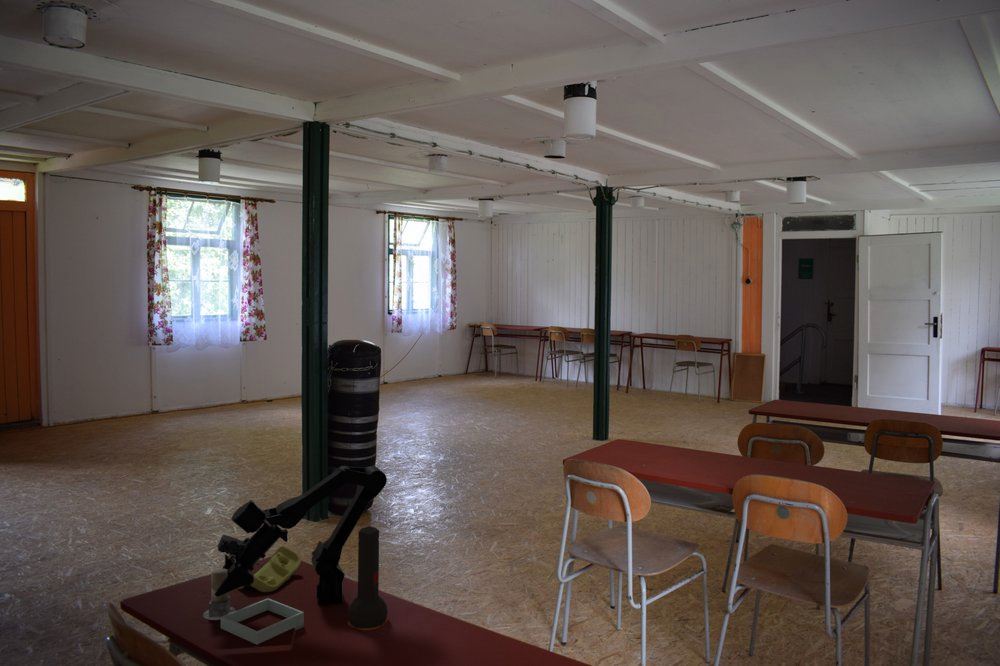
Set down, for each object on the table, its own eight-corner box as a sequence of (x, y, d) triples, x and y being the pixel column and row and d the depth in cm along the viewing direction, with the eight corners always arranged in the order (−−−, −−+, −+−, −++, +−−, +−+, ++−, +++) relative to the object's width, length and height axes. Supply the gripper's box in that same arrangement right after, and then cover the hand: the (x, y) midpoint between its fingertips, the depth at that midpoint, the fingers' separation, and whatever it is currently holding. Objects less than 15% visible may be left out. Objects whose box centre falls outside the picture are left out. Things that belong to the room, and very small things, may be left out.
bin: (267, 612, 192) (268, 598, 191) (303, 626, 184) (303, 612, 183) (220, 631, 180) (220, 617, 180) (256, 648, 172) (256, 632, 172)
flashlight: (340, 622, 186) (368, 633, 181) (341, 527, 185) (369, 535, 180) (367, 609, 195) (394, 618, 189) (368, 518, 193) (396, 524, 188)
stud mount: (238, 609, 193) (238, 594, 193) (232, 622, 185) (232, 607, 185) (206, 610, 192) (206, 596, 191) (199, 624, 184) (199, 609, 183)
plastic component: (273, 589, 201) (243, 571, 202) (264, 610, 203) (234, 592, 204) (306, 558, 221) (278, 542, 222) (297, 578, 222) (269, 562, 223)
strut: (230, 608, 191) (230, 567, 190) (226, 616, 187) (226, 574, 186) (212, 609, 190) (212, 568, 190) (208, 617, 186) (208, 575, 185)
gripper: (234, 514, 197) (190, 559, 193) (240, 535, 180) (192, 585, 176) (264, 539, 201) (221, 584, 197) (272, 562, 184) (226, 611, 180)
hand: (215, 590), depth 188 cm, fingers open, 7 cm apart
